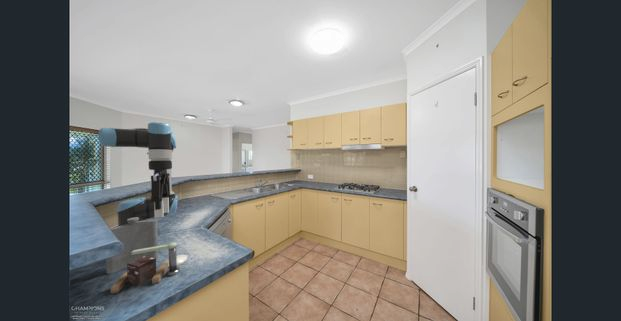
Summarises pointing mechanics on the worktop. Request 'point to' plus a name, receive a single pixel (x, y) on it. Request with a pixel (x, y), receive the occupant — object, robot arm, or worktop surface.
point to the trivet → (180, 260)
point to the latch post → (172, 263)
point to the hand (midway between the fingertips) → (162, 214)
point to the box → (141, 270)
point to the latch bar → (155, 248)
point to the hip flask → (133, 242)
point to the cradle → (124, 280)
